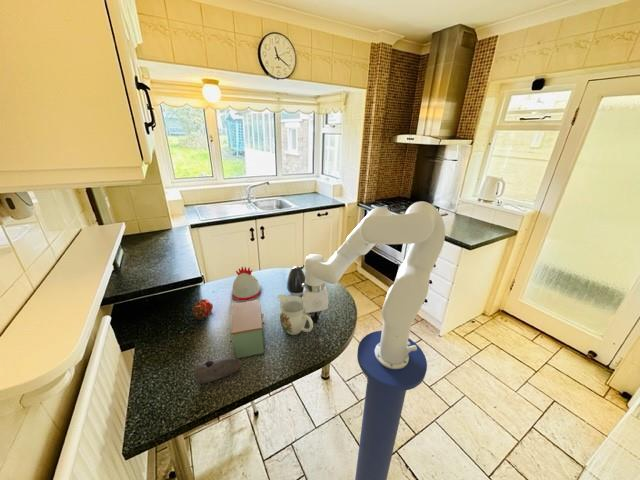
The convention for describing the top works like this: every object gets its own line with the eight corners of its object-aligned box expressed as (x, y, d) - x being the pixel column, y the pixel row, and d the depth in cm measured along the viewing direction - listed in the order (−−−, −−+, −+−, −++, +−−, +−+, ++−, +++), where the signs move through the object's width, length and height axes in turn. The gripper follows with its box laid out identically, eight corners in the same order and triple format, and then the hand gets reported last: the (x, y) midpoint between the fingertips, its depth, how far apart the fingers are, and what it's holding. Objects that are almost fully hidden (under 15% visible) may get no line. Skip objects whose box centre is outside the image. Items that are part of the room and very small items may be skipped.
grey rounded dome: (257, 300, 125) (254, 274, 119) (229, 300, 125) (224, 274, 119) (263, 284, 137) (260, 260, 131) (237, 284, 138) (233, 259, 131)
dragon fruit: (201, 328, 110) (203, 314, 121) (217, 314, 111) (217, 301, 121) (185, 317, 106) (189, 303, 117) (201, 303, 107) (203, 290, 118)
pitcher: (303, 348, 98) (303, 321, 93) (271, 328, 108) (268, 301, 102) (320, 332, 106) (321, 305, 101) (288, 314, 116) (287, 289, 110)
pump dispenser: (311, 292, 132) (311, 266, 125) (297, 301, 124) (296, 275, 118) (297, 284, 138) (296, 259, 131) (283, 293, 130) (281, 267, 124)
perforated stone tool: (242, 363, 92) (240, 349, 89) (243, 375, 88) (241, 361, 85) (197, 375, 88) (193, 361, 85) (196, 389, 83) (192, 374, 80)
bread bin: (264, 322, 111) (262, 299, 106) (267, 352, 97) (264, 327, 91) (236, 327, 108) (232, 303, 103) (235, 359, 94) (230, 333, 89)
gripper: (297, 293, 95) (298, 330, 103) (336, 287, 98) (334, 324, 106) (294, 282, 101) (295, 318, 109) (330, 277, 105) (329, 312, 113)
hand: (314, 321), depth 108 cm, fingers closed
